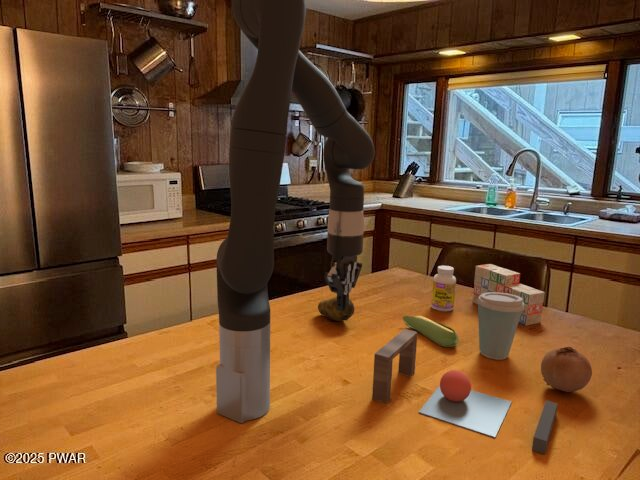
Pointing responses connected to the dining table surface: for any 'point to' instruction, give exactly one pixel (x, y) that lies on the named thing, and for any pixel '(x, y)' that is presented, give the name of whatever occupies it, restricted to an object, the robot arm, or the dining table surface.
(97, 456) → the dining table surface
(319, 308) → the potato
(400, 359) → the bridge
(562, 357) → the onion
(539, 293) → the stack of blocks
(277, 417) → the dining table surface
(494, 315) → the disposable coffee cup
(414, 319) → the edible corn
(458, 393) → the ball
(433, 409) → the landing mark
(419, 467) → the dining table surface
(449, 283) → the supplement bottle
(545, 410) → the wall
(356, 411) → the dining table surface
